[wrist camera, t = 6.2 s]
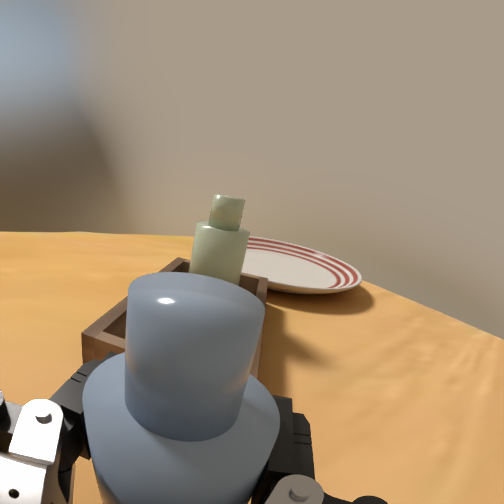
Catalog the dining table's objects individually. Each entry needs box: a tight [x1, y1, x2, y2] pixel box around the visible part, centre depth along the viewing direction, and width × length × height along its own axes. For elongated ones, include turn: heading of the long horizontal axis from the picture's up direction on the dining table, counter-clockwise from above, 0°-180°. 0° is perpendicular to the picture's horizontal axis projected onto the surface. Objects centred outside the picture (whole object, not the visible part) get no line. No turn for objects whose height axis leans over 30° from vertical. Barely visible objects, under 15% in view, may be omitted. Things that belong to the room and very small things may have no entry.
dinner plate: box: [242, 236, 362, 294], centre depth 52 cm, size 27×27×3 cm
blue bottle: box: [82, 272, 280, 504], centre depth 8 cm, size 5×5×11 cm
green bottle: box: [189, 194, 250, 286], centre depth 31 cm, size 5×5×11 cm
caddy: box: [81, 258, 268, 379], centre depth 27 cm, size 11×21×3 cm, turn 175°
